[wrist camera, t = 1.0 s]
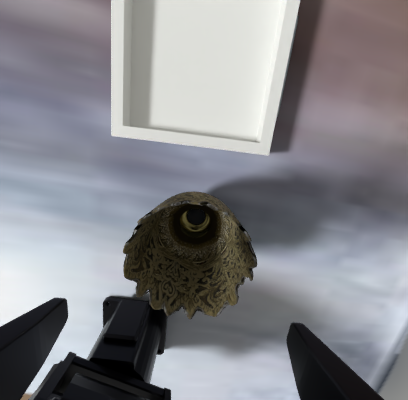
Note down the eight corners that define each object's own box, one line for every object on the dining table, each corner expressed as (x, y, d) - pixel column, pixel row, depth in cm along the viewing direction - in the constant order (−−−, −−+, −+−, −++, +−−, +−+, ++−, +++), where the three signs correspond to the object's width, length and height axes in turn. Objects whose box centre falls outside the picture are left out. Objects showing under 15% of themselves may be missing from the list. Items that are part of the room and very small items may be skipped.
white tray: (264, 153, 18) (271, 155, 16) (121, 135, 18) (111, 135, 16) (298, -21, 15) (312, -44, 13) (123, -46, 14) (111, -73, 13)
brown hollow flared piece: (208, 265, 21) (208, 340, 13) (141, 227, 20) (99, 284, 12) (253, 204, 19) (284, 249, 12) (182, 158, 18) (163, 175, 11)
